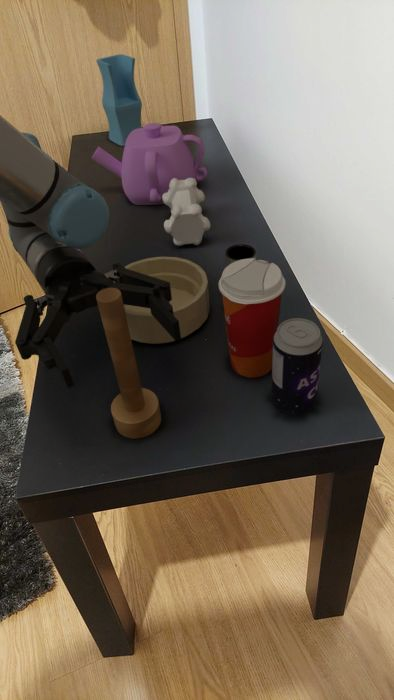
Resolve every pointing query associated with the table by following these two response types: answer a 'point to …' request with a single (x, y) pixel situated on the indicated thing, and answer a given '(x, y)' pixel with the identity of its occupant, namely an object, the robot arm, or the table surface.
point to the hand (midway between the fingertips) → (125, 354)
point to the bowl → (186, 300)
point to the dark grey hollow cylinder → (239, 253)
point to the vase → (120, 96)
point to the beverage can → (296, 365)
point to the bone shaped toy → (185, 212)
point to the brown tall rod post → (126, 372)
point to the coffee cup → (251, 313)
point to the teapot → (153, 162)
